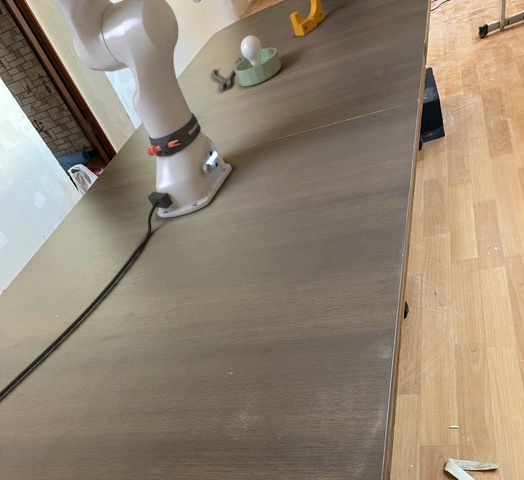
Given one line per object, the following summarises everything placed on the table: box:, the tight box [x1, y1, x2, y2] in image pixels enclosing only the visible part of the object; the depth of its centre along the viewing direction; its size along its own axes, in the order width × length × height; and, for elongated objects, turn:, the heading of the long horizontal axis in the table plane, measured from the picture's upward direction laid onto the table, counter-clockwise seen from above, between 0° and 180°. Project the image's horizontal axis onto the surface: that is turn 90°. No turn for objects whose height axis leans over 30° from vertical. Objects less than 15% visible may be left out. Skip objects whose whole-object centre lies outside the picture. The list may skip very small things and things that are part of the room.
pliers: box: [211, 57, 242, 92], centre depth 168 cm, size 11×1×25 cm
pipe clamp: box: [289, 0, 326, 37], centre depth 167 cm, size 12×4×6 cm, turn 130°
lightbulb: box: [240, 34, 263, 67], centre depth 152 cm, size 6×6×11 cm
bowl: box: [233, 47, 282, 87], centre depth 154 cm, size 14×14×5 cm
